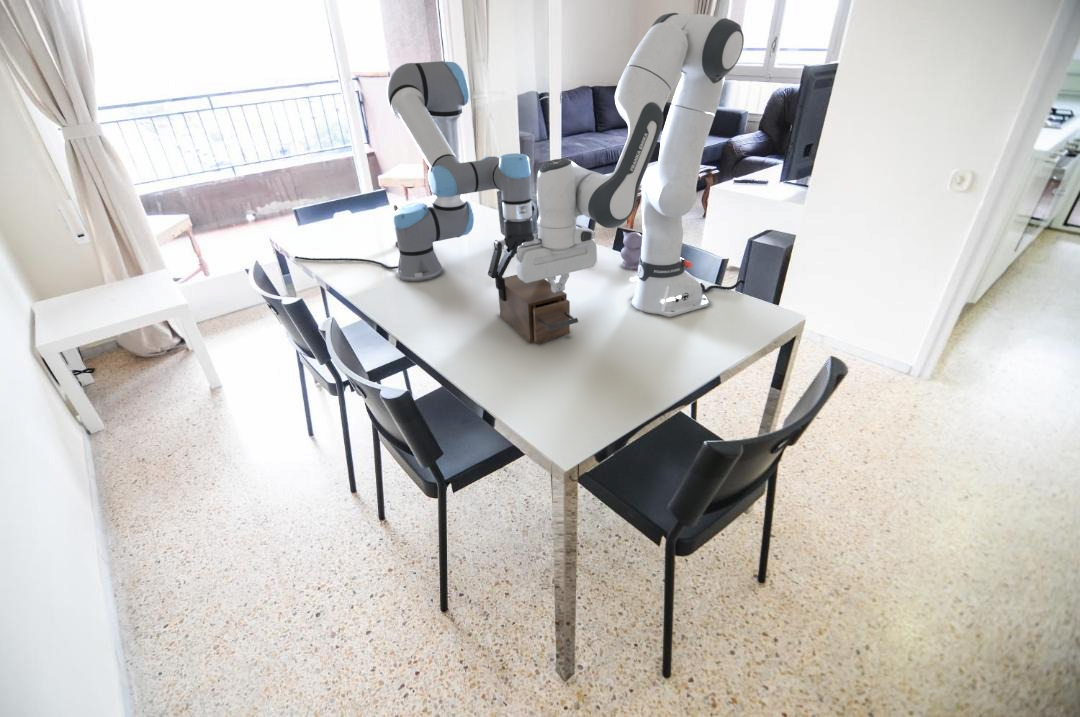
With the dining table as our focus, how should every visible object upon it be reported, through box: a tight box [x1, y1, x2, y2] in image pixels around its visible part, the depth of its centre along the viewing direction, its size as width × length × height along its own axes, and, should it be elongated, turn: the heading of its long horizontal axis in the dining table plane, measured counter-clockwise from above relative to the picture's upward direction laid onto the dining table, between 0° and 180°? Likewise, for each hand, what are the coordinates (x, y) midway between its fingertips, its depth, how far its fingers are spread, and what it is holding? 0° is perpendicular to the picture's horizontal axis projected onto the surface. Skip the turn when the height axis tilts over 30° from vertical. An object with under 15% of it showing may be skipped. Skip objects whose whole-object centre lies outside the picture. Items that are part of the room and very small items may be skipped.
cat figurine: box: [620, 231, 642, 271], centre depth 172 cm, size 9×8×12 cm
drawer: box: [531, 299, 579, 344], centre depth 133 cm, size 23×10×10 cm, turn 28°
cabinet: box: [497, 274, 568, 344], centre depth 138 cm, size 19×11×12 cm, turn 28°
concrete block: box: [496, 190, 539, 237], centre depth 194 cm, size 27×9×20 cm, turn 36°
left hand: (522, 294), depth 141 cm, fingers closed on cabinet, 11 cm apart
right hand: (557, 290), depth 121 cm, fingers closed
